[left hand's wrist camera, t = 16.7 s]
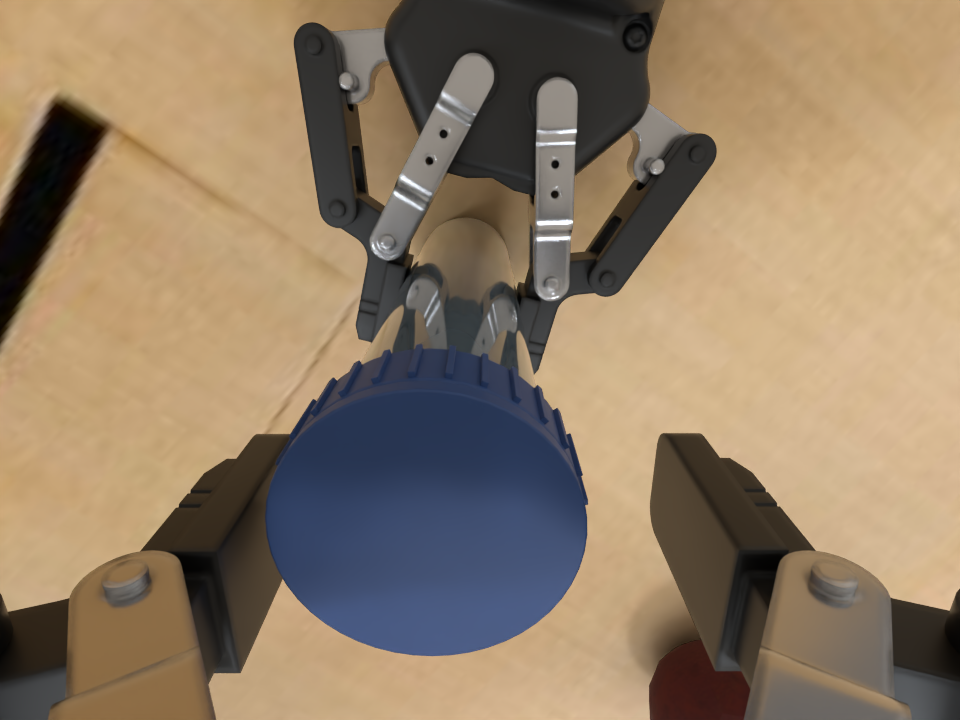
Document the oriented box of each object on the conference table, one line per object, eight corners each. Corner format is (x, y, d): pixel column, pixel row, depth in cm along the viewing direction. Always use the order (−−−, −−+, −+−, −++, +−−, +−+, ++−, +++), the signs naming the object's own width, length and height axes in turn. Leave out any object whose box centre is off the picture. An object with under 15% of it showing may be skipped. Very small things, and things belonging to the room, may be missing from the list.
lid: (530, 608, 11) (538, 685, 10) (277, 555, 11) (241, 627, 9) (614, 382, 10) (640, 431, 8) (317, 309, 9) (282, 346, 8)
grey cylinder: (414, 295, 28) (287, 591, 10) (429, 208, 26) (313, 370, 8) (498, 311, 28) (526, 630, 10) (517, 227, 27) (590, 424, 9)
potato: (772, 621, 35) (839, 734, 28) (734, 712, 38) (787, 834, 31) (652, 607, 35) (692, 718, 28) (623, 700, 37) (652, 821, 31)
